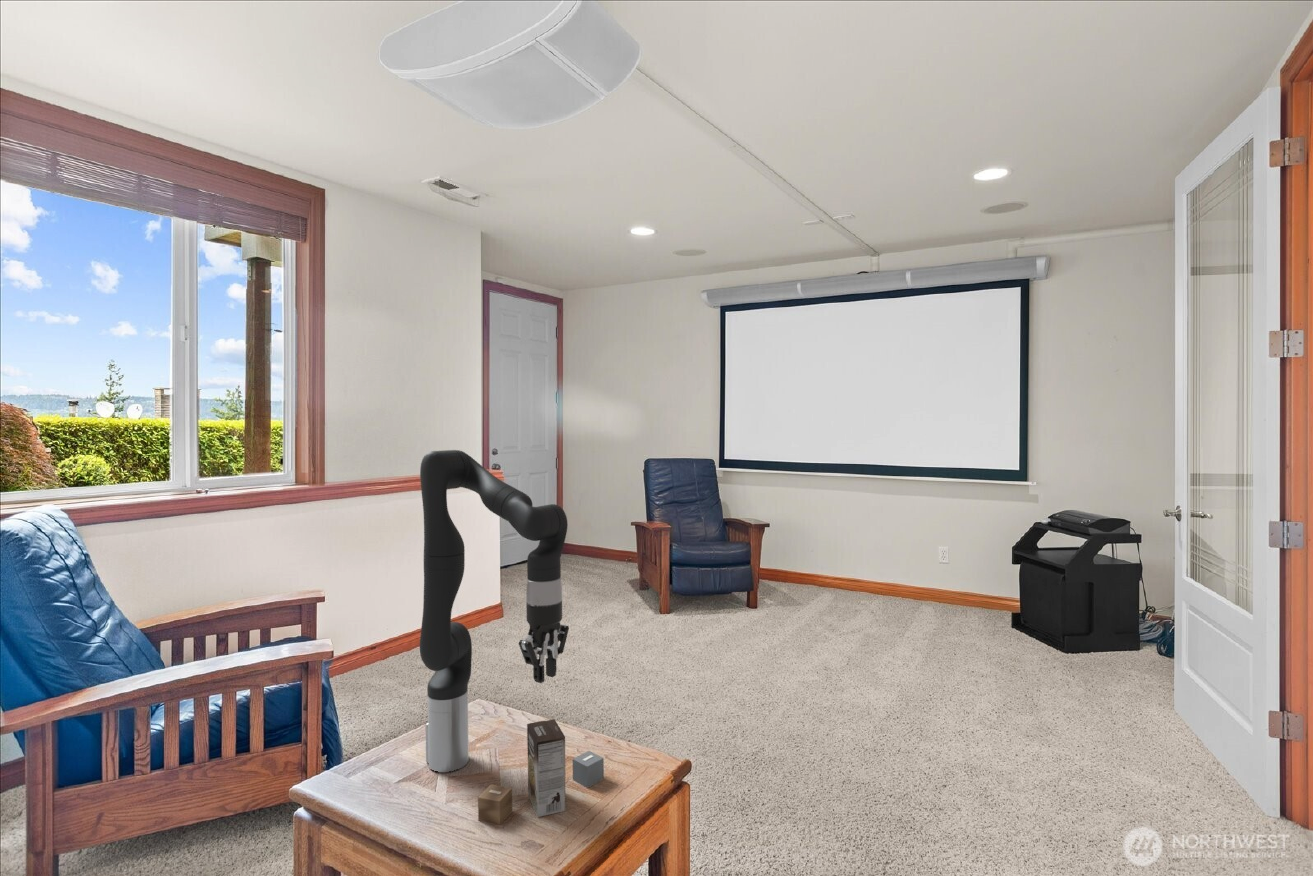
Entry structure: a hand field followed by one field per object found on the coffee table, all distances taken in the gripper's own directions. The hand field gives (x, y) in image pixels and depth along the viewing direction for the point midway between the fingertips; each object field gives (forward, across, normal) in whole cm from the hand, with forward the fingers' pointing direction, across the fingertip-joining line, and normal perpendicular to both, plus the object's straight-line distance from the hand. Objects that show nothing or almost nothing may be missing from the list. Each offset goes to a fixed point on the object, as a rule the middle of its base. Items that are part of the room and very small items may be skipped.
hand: (545, 678), depth 140 cm
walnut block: (+27, +9, -6) cm, 29 cm away
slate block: (+27, -12, +2) cm, 30 cm away
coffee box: (+27, 0, 0) cm, 27 cm away
